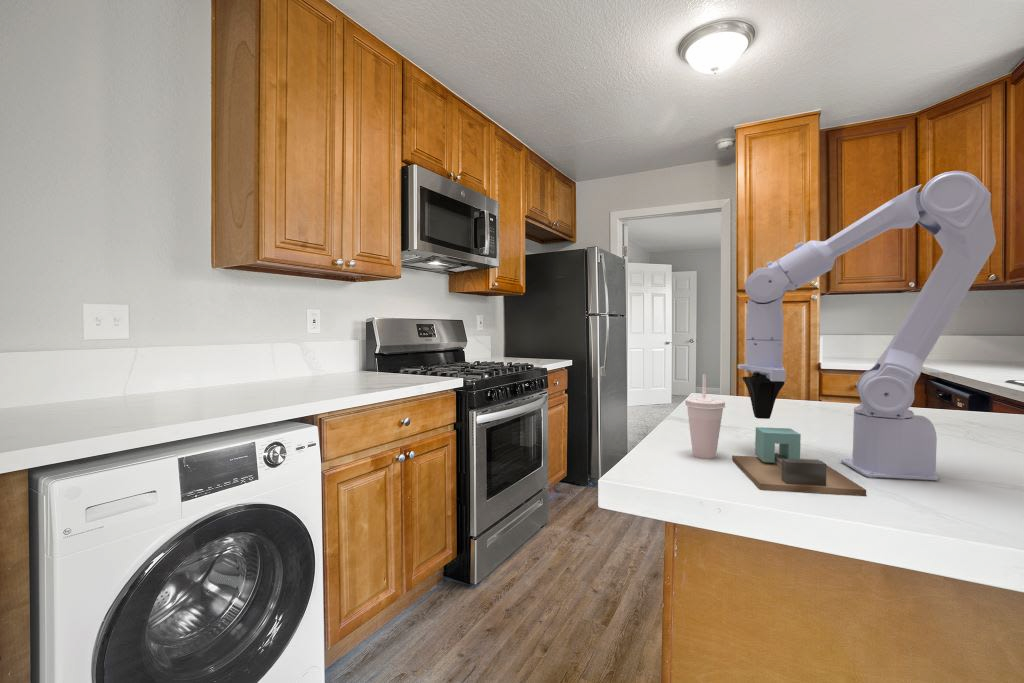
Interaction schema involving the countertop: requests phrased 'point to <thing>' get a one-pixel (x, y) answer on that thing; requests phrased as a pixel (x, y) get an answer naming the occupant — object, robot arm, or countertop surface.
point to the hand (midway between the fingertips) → (762, 417)
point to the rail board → (775, 474)
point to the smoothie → (704, 423)
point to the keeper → (781, 436)
